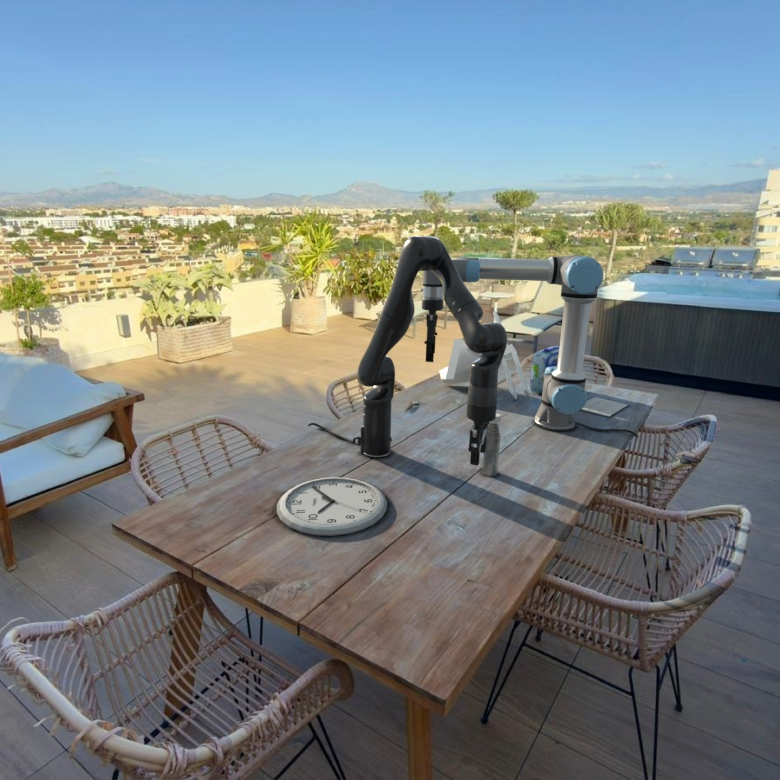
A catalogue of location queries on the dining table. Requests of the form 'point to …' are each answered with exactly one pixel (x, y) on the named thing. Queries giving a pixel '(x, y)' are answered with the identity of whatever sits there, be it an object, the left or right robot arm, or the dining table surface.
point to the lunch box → (542, 367)
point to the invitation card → (603, 406)
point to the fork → (413, 403)
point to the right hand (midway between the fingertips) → (430, 357)
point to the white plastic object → (465, 357)
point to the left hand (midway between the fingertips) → (477, 458)
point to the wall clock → (331, 506)
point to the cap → (496, 419)
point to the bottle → (491, 451)
